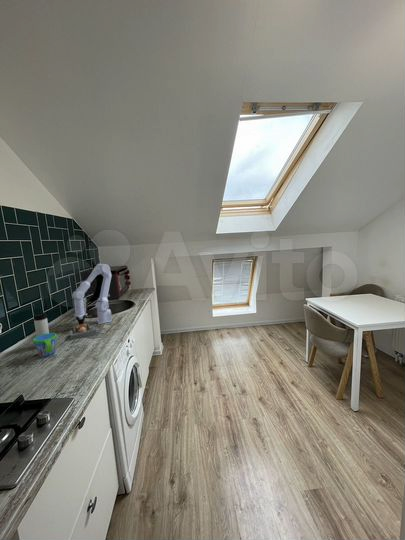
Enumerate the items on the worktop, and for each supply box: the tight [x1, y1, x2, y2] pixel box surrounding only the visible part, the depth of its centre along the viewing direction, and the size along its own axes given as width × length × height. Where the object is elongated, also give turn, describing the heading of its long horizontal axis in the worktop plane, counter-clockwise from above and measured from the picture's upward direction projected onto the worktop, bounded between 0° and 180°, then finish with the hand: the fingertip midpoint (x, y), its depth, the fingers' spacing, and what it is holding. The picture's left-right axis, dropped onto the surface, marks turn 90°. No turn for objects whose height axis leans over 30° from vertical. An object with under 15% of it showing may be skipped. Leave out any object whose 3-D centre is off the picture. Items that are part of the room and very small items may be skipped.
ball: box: [79, 327, 87, 333], centre depth 152 cm, size 4×4×4 cm
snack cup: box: [32, 332, 58, 358], centre depth 124 cm, size 16×10×10 cm
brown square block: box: [76, 322, 88, 333], centre depth 157 cm, size 6×6×3 cm
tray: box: [69, 325, 97, 341], centre depth 149 cm, size 14×9×3 cm, turn 122°
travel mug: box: [33, 312, 50, 337], centre depth 134 cm, size 6×7×20 cm
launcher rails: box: [72, 322, 92, 334], centre depth 160 cm, size 10×13×1 cm
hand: (81, 326), depth 161 cm, fingers closed
